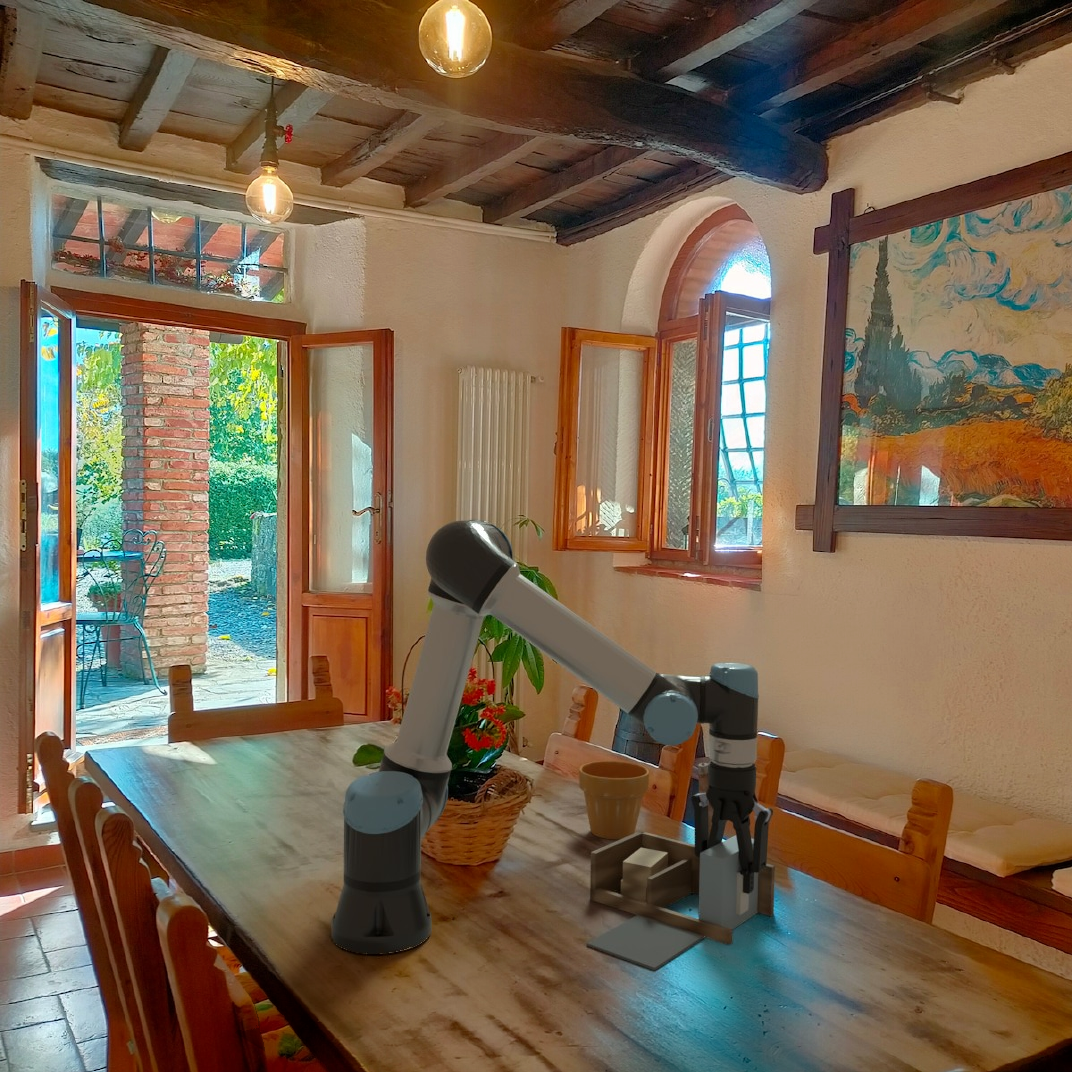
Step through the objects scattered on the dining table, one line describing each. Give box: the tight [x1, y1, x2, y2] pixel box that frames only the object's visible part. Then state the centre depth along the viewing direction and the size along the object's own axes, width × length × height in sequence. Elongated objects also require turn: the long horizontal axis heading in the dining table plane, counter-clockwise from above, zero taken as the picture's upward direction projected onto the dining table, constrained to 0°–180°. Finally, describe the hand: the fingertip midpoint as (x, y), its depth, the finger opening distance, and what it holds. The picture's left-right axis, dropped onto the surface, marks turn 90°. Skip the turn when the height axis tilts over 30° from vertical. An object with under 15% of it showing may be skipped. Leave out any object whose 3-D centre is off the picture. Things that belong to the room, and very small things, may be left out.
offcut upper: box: [623, 848, 668, 887], centre depth 164 cm, size 5×8×4 cm, turn 152°
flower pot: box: [578, 760, 650, 840], centre depth 197 cm, size 14×14×13 cm
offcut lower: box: [620, 879, 647, 903], centre depth 164 cm, size 5×8×4 cm, turn 141°
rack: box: [589, 830, 776, 946], centre depth 160 cm, size 26×15×8 cm, turn 50°
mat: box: [586, 914, 705, 971], centre depth 147 cm, size 12×14×1 cm
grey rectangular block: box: [698, 834, 758, 931], centre depth 154 cm, size 4×12×12 cm, turn 140°
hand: (728, 907), depth 154 cm, fingers closed on grey rectangular block, 4 cm apart
